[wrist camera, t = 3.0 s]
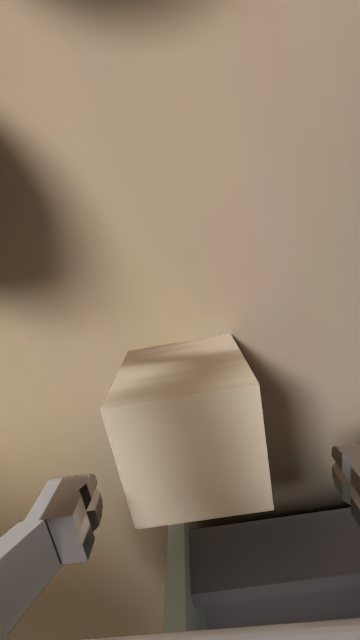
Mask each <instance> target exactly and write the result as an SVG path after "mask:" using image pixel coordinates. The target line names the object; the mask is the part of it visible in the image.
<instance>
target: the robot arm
mask: <svg viewBox="0 0 360 640" xmlns="http://www.w3.org/2000/svg"><path fill="white" fill-rule="evenodd" d="M332 457H333V459H334V460H335V462H336V463H335V464H334V465H333V467H332V476H333V480H334V483H335V486H336V489H337V491H338V493H339V495H340V496H341V498H342V500H344V501H345V502H347V503H348V504H350V505H351V514H352V516H353V517H354V519H355V521H356V522H357V524H358V525H359V527H360V443H353V444H345V445H337V446H333V447H332ZM96 485H97V480H96V477H95V475H93V474H86V475H75V476H65V477H56V478H51V479H50V480H48V481H47V483H46V485H45V486H44V488H43V490H42V491H41V493H40V495H39V496H38V498H37V500H36V501H35V503H34V505H33V506H32V508H31V510H30V511H29V513H28V515H27V516H26V518H25V520H24V521H23V522H19V523H17V524H16V525H15V526H14V527H13V528H11V529H10V530H9V531H8V532H6V533H5V534H4V535H3V536H2V537H0V640H8V639H7V637H6V636H7V635H8V633H9V632H10V631H11V630H12V628H13V627H14V626H15V624H16V623H17V622H18V621H19V619H20V618H21V617H22V616H23V614H24V613H25V612H26V611H27V609H28V608H29V607H30V605H31V604H32V603H33V602H34V600H35V599H36V598H37V597H38V595H39V594H40V593H41V592H42V590H43V589H44V588H45V586H46V585H47V584H48V583H49V581H50V580H51V579H52V578H53V576H54V575H55V574H56V573H57V571H58V570H59V569H60V567H61V565H64V564H71V563H79V562H87V561H88V559H89V556H90V552H91V549H92V546H93V543H94V540H95V538H94V535H93V531H94V530H95V529H96V528H97V527H98V526H99V524H100V520H101V517H102V508H103V504H102V497H101V493H100V492H98V491H97V490H96V489H95V488H96ZM82 640H360V618H351V619H339V620H326V621H314V622H301V623H288V624H276V625H263V626H250V627H237V628H224V629H211V630H199V631H186V632H173V633H160V634H147V635H134V636H121V637H108V638H95V639H82Z"/></svg>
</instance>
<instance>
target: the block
mask: <svg viewBox="0 0 360 640" xmlns="http://www.w3.org/2000/svg"><path fill="white" fill-rule="evenodd" d="M100 411H101V415H102V418H103V421H104V425H105V428H106V432H107V435H108V438H109V442H110V445H111V449H112V452H113V455H114V459H115V462H116V466H117V469H118V472H119V476H120V479H121V482H122V486H123V489H124V493H125V496H126V499H127V503H128V506H129V510H130V513H131V516H132V520H133V523H134V527H135V530H137V529H144V528H151V527H158V526H165V525H172V524H179V523H186V522H193V521H201V520H208V519H215V518H222V517H229V516H236V515H243V514H250V513H257V512H264V511H271V510H274V505H273V497H272V488H271V480H270V471H269V463H268V454H267V446H266V437H265V429H264V420H263V412H262V403H261V394H260V386H259V383H258V381H257V379H256V377H255V376H254V374H253V372H252V370H251V369H250V367H249V365H248V363H247V362H246V360H245V358H244V356H243V355H242V353H241V351H240V349H239V348H238V346H237V344H236V342H235V341H234V339H233V337H232V335H231V334H225V335H219V336H214V337H208V338H202V339H196V340H190V341H185V342H179V343H173V344H167V345H161V346H156V347H150V348H144V349H138V350H132V351H128V353H127V355H126V357H125V359H124V361H123V363H122V365H121V367H120V369H119V372H118V374H117V376H116V378H115V380H114V382H113V384H112V386H111V388H110V390H109V392H108V394H107V397H106V399H105V401H104V403H103V405H102V407H101V409H100Z"/></svg>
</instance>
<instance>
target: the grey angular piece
mask: <svg viewBox="0 0 360 640" xmlns="http://www.w3.org/2000/svg"><path fill="white" fill-rule="evenodd" d="M351 618H360V527H359V525H358V524H357V522H356V521H355V519H354V517H353V516H352V514H351V507H350V508H343V509H336V510H329V511H322V512H315V513H307V514H300V515H293V516H286V517H279V518H272V519H265V520H258V521H250V522H243V523H236V524H229V525H222V526H215V527H208V528H201V529H193V530H188V525H187V522H186V523H179V524H172V525H168V535H167V560H166V584H165V609H164V633H173V632H186V631H199V630H211V629H224V628H237V627H250V626H263V625H276V624H288V623H301V622H314V621H326V620H339V619H351Z"/></svg>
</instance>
